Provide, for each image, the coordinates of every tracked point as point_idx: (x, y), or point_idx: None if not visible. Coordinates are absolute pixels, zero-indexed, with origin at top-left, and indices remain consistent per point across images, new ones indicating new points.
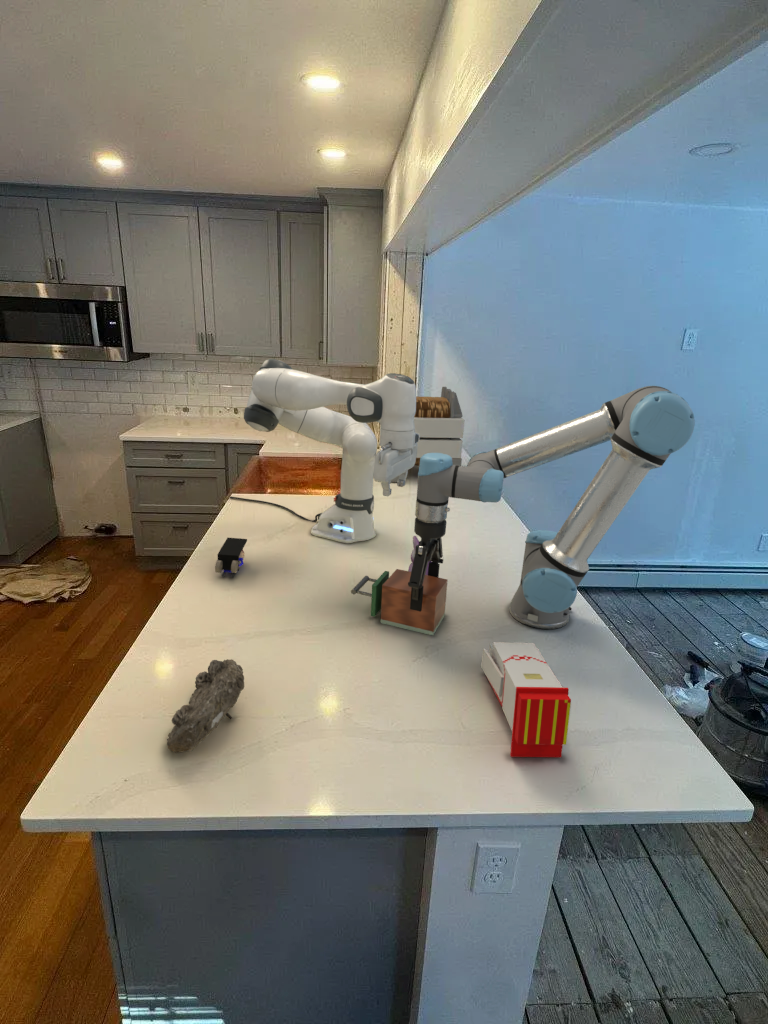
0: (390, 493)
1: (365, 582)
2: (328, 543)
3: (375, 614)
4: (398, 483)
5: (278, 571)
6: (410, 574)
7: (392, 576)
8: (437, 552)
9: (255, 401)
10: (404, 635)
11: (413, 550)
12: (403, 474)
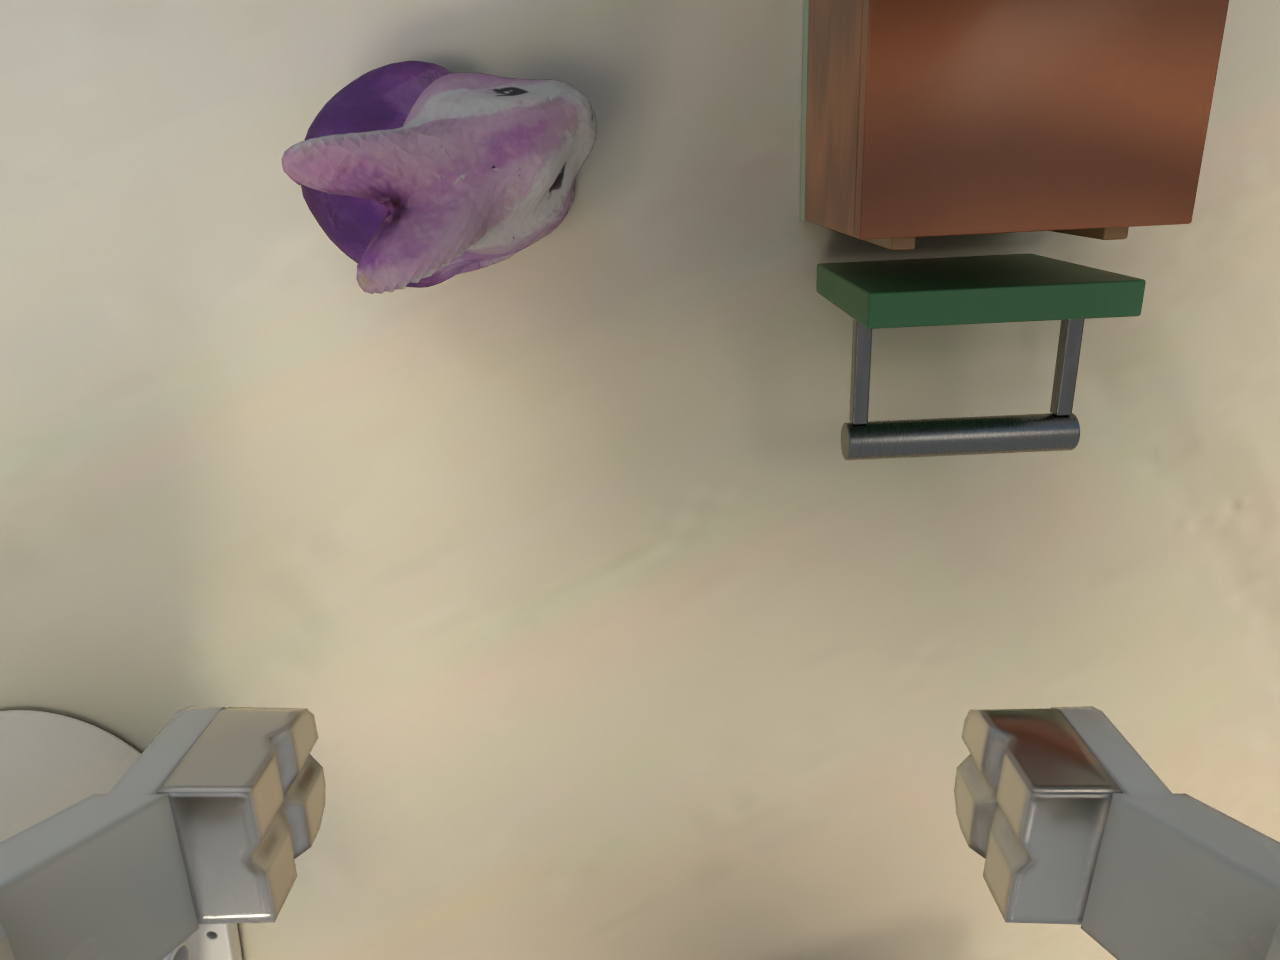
0: (1034, 724)
1: (917, 421)
2: None
3: (1030, 255)
4: (294, 835)
5: (725, 901)
6: (919, 85)
7: (1012, 213)
8: None
9: None
10: None
11: (498, 232)
12: (25, 958)
